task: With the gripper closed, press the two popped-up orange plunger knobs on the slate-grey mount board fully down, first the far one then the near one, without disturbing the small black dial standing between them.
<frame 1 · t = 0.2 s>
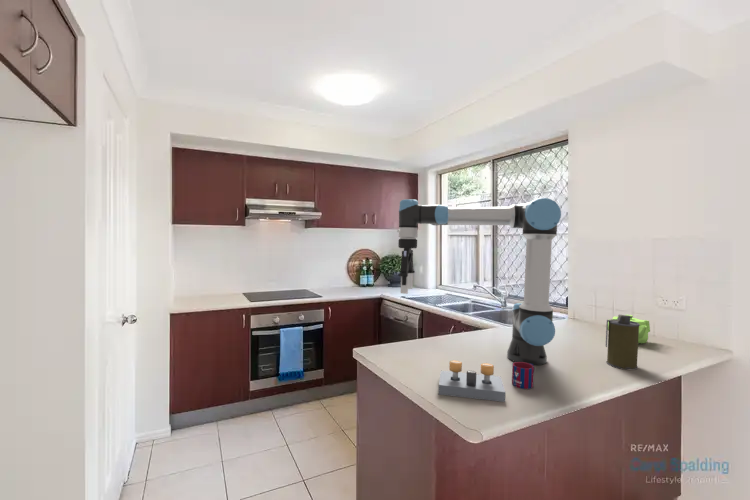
hand: (406, 291, 148), 28 cm above the worktop, fingers open, 13 cm apart
mount: (470, 389, 120), on the worktop
knob a: (487, 373, 119), point 6 cm above the worktop, slide at 0.0 cm
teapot: (630, 342, 181), on the worktop
canister: (621, 365, 147), on the worktop
mug: (525, 384, 126), on the worktop
knob b: (455, 370, 121), point 6 cm above the worktop, slide at 0.0 cm
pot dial: (471, 384, 117), point 3 cm above the worktop, touching mount
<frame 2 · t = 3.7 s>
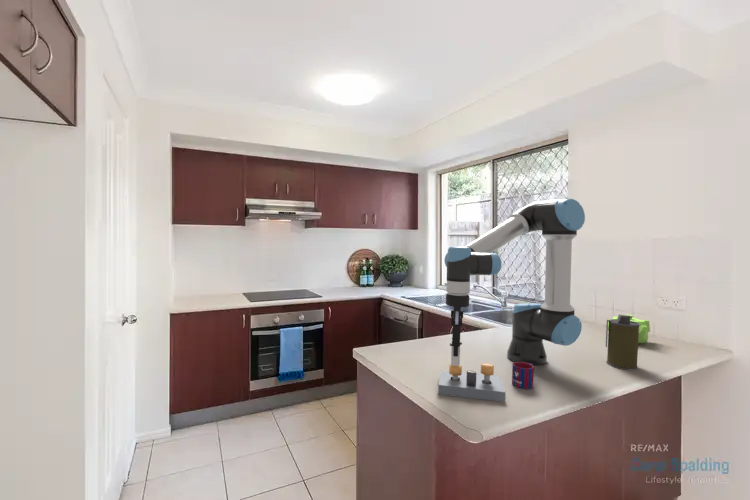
hand: (455, 364, 121), 8 cm above the worktop, fingers closed
knob b: (455, 373, 121), point 5 cm above the worktop, slide at 1.2 cm, touching gripper
everything else where it was.
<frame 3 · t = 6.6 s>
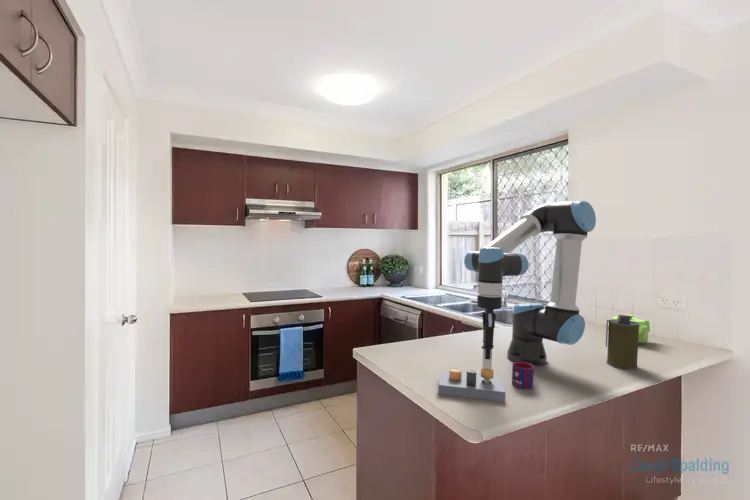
hand: (486, 367, 119), 8 cm above the worktop, fingers closed
knob a: (486, 376, 119), point 5 cm above the worktop, slide at 1.2 cm, touching gripper
knob b: (455, 379, 121), point 3 cm above the worktop, slide at 2.9 cm
everything else where it was.
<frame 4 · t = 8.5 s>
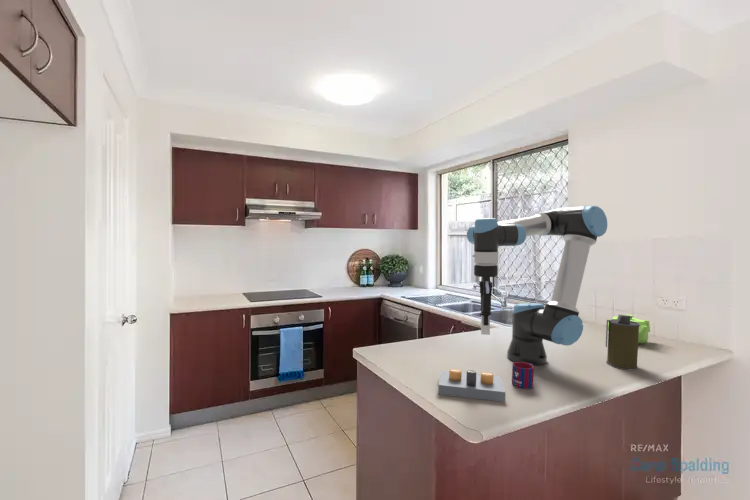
hand: (485, 333, 124), 17 cm above the worktop, fingers closed
knob a: (486, 382, 119), point 3 cm above the worktop, slide at 3.0 cm
everything else where it was.
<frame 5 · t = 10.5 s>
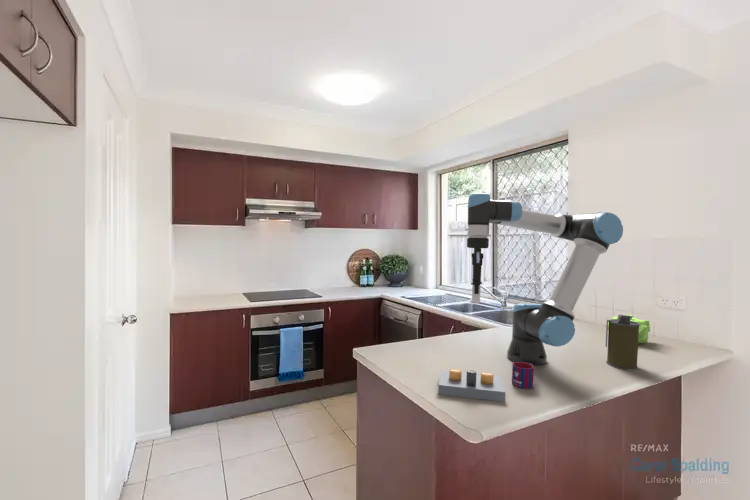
hand: (475, 302, 133), 26 cm above the worktop, fingers closed
nothing on the worktop moved.
at the end: knob b slide at 2.9 cm; knob a slide at 3.0 cm; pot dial moved 0.0 cm from its start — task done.
